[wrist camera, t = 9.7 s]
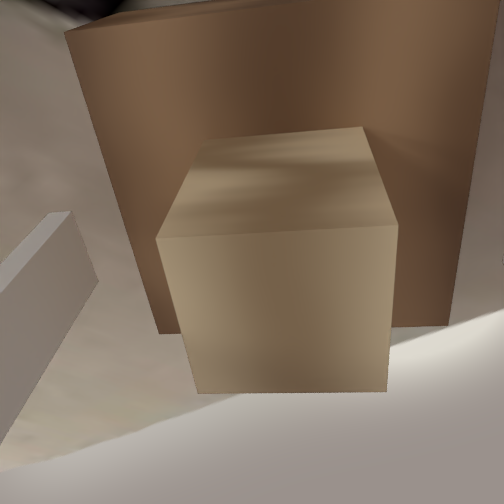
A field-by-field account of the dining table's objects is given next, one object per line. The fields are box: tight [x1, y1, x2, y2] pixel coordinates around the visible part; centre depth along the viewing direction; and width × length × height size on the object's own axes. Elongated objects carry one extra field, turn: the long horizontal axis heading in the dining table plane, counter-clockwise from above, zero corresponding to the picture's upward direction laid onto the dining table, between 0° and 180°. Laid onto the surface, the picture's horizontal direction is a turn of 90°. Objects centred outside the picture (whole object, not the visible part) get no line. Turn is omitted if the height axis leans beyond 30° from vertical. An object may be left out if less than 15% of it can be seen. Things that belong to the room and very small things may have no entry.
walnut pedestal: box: [64, 0, 500, 334], centre depth 18 cm, size 12×12×5 cm
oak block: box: [156, 127, 398, 394], centre depth 13 cm, size 5×5×6 cm
